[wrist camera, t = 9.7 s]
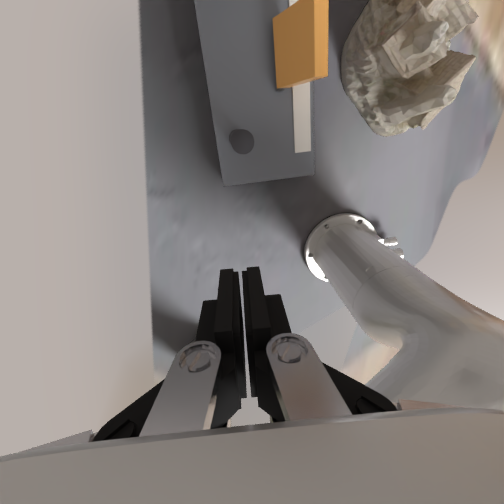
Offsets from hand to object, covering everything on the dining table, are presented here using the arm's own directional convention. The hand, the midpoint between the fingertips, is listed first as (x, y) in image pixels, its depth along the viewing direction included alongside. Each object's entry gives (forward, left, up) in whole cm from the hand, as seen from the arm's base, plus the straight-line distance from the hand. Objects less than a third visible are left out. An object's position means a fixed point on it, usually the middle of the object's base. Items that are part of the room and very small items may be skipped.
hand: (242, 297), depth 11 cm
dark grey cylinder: (-2, -5, -25) cm, 26 cm away
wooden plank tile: (-7, -13, -25) cm, 29 cm away
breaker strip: (-5, -13, -31) cm, 34 cm away
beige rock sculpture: (-25, -12, -31) cm, 41 cm away
